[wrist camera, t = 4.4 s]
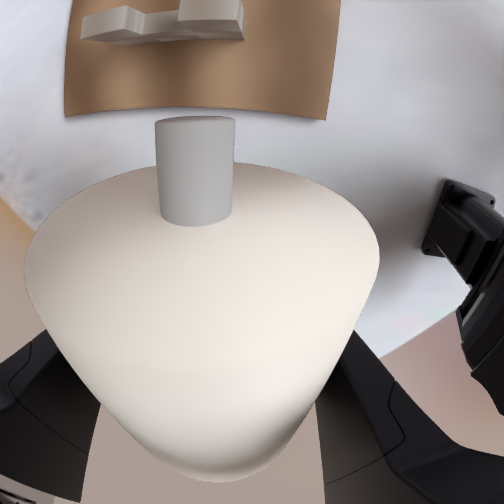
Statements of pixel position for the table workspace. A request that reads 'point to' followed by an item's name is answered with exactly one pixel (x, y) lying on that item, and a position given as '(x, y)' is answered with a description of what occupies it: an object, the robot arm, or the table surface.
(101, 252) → the paper roll
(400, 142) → the table surface
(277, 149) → the table surface
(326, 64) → the roll cradle
